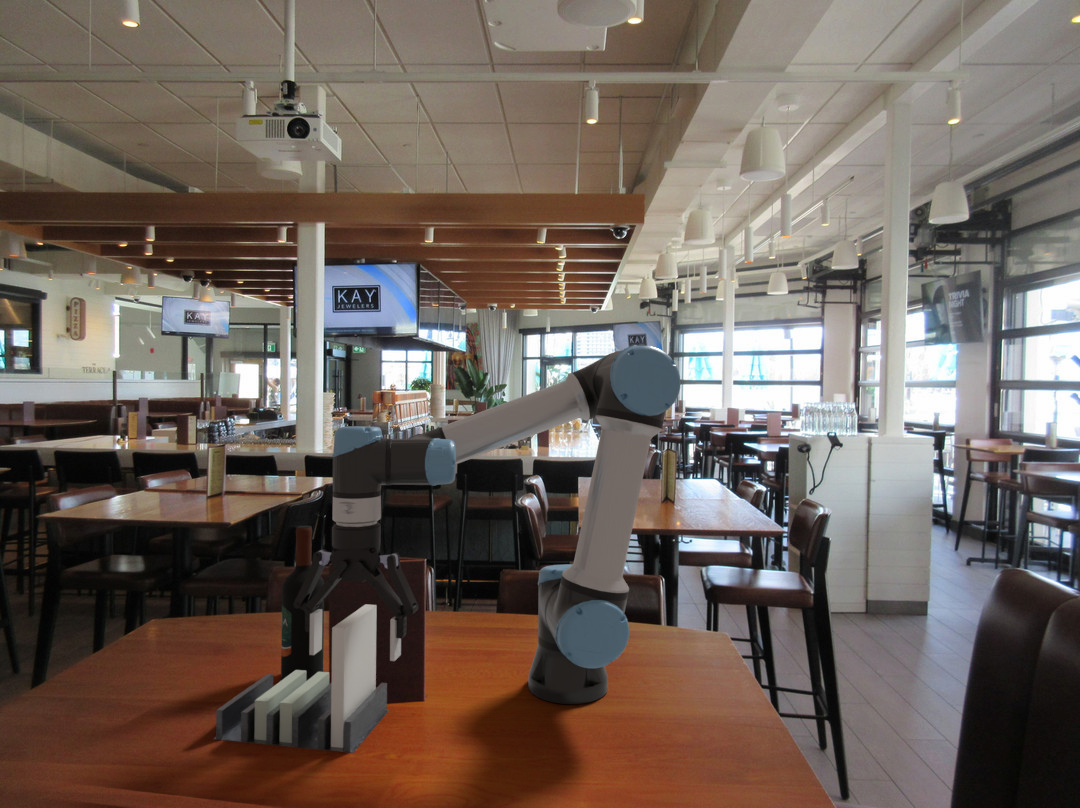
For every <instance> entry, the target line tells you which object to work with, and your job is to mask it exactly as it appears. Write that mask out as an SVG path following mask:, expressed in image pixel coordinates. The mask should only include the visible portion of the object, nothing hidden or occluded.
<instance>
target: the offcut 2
mask: <svg viewBox="0 0 1080 808" xmlns="http://www.w3.org/2000/svg"><path fill="white" fill-rule="evenodd" d="M329 684H330V672H328V671H323V672H317V673H316V674H315V675H314V676H312V677H311V678H310V679H309V680H307V681H306V682H305V683H304V684H302V685H301V686H300V687H299V688H297V689H296V690H295V691H294V692H293V693H291V694H290V695H289V696H288V697H286V698H285V699H284V700H283V701H281V702H280V742H287V743H292V717H293V716H294V715H295V714H296V713H297V712H298V711H299V710H301V709H302V708H303V707H304V706H305V705H306V704H307V703H309V702H310V701H311V700H312V699H313V698H314V697H315V696H317V695H318V694H319V693H320V692H321V691H322V690H323V689H324V688H326V687H327V686H328V685H329Z"/></svg>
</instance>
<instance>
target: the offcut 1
mask: <svg viewBox="0 0 1080 808" xmlns="http://www.w3.org/2000/svg"><path fill="white" fill-rule="evenodd" d="M306 673H307V671H305V670H295V671H293V672H292V673H291V674H289V675H288V676H287V677H285V678H284V679H283V680H281V679H280V681H279V682H278V683H276V684H274V685H273V687H272V688H271V689H269V690H268V691H267V692H265V693H264V694H263V695H261V696H260V697H259V698H257V699H256V700H255V733H254V739H257V740H266V723H267V714H268V713H269V712H270V711H272V710H273V709H274V708H275V707H276V706H278V705H279V704H280V702H281V701H283V700H284V699H285V698H286V697H288V696H289V695H290V694H291V693H293V692H294V691H295V690H296V689H297V688H299V687H300V686H301V685H302V684H304V683H305V682H306Z"/></svg>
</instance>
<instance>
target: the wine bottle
mask: <svg viewBox="0 0 1080 808" xmlns="http://www.w3.org/2000/svg"><path fill="white" fill-rule="evenodd" d="M295 536H296V539H295V540H296V541H295V546H296V547H295V548H296V549H295V566H294V570H293V571H292V572H291V573H290V574H289V575H287V577H286V578H285V579H284V580H283V583H282V588H281V638H280V639H281V642H280V643H281V647H280V648H281V649H280V651H281V653H280V656H281V657H280V658H281V659H280V681H281V680H283V679H284V678H285V677H287V676H288V675H289V674H291V673H292V672H293V671H295V670H305V671H307V673H306V681H307V680H309V679H310V678H311V677H312V676H314V675H315V674H316V673H317V672H324V644H325V643H324V637H325V636H324V633H325V632H324V630H325V629H324V628H325V624H324V623H325V622H324V621H325V619H324V618H325V611H324V610H325V599H324V600H323V601H322V602H321V604H320V605H319V607H318V608H316V610H318V609H322V649H321V650H320V651H319V652H317V653H316V654H315V655H309V645H310V632H306V630H305V612H304V611H303V610H302V609H300V608H297V609H296V608H295V607H294V606H293V604H294V601H295V599H296V597H297V595H298V593H299V591H300V589H301V587H302V585H303V583H304V581H305V579H306V577H307V575H308V573H309V570H310V568H311V566H312V536H313V529H312V525H300V526H296V530H295ZM324 583H325V581H324V579H323V577H322V576H320V578H319V580H318V582H317V584H316V586H315V588H314V590H313V592H312V594H311V596H310V598H309V601H310V600H311V599H312V597H313V596H314V595H315V594H316V593H317V591H318V590H319V589H320V588H321V587H322V585H323V584H324Z"/></svg>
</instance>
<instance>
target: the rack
mask: <svg viewBox="0 0 1080 808" xmlns="http://www.w3.org/2000/svg"><path fill="white" fill-rule="evenodd" d="M331 685H332V681H331V682H329V685H328V686H327V687H326V688H324V689H323V690H322V691H321V692H320V693H319V694H318V695H317V696H315V697H314V698H313V699H312V700H311V701H310V702H309V703H307V704H306V705H305V706H304V707H303V708H302V709H301V710H299V711H298V712H297V713H296V714H295V715H294V716H293V717H292V743H287V742H280V704H279V705H278V706H276V707H275V708H274V709H273V710H272V711H270V712H269V713H268V714H267V723H266V740H257V739H254V733H255V700H256V699H257V698H259V697H260V696H261V695H263V694H264V693H265V692H267V691H268V690H269V689H271V688H272V687H273V686H274V673H267V674H265V675H263V677H261V678H260V679H258V680H257V681H256V682H254V683H253V684H251V685H250V686H248V687H247V688H245V689H244V690H243V691H241V692H240V693H238V694H237V695H235V696H234V697H233V698H231V699H230V700H228V701H227V702H226V703H224V704H222V706H220V707H219V708H217V709H216V711H215V712H216V715H215V717H216V721H215V722H216V725H215V727H216V729H215V733H216V734H215V737H214V738H213V740H219V741H227V742H238V743H247V744H248V743H249V744H258V745H269V746H278V747H279V746H280V747H287V748H288V747H290V748H300V749H307V750H308V749H310V750H319V751H330V752H340V753H351V754H354V753H355V752H356V750H357V749H358V748H359V747H360V746H361V745H362V744H363V742H364V741H366V739H367V738H368V736H369V735H371V733H372V731H373V730H374V729H375V728H377V726H378V725H379V723H380V722H381V721H382V720H383V719H384V718H385V716H386V715H387V714H388V713H389V712H390V709H388V706H387V705H388V683H387V682H380V684H379V685H378V686H376V689H375V690H374V691H373V692H372V693H371V694H370V695H369V696H368V697H367V698H366V699H365V700H364V702H363V703H362V704H361V705H360V706H359V707H358V708H357V709H356V710H355V711H354V712H353V713H352V714H351V715H350V716H349V717H348V718H347V719H346V720H345V721H344V748H338V747H331Z"/></svg>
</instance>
